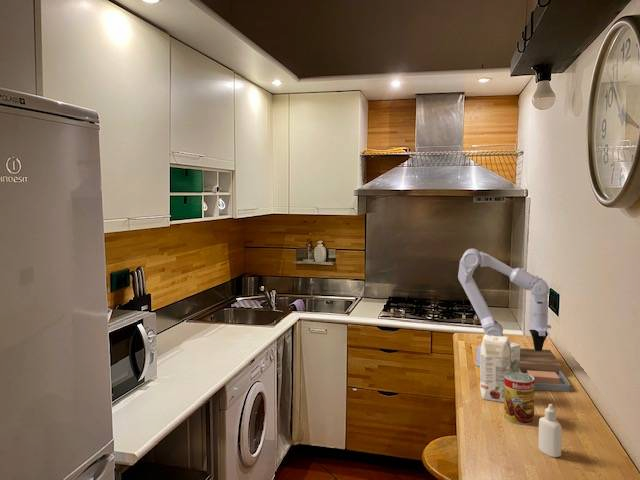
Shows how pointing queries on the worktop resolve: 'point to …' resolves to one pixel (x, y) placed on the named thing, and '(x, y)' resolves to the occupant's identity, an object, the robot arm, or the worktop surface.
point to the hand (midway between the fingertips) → (538, 350)
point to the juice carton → (494, 366)
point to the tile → (544, 377)
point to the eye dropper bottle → (550, 433)
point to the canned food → (519, 398)
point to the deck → (538, 361)
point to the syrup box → (515, 357)
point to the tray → (562, 385)
